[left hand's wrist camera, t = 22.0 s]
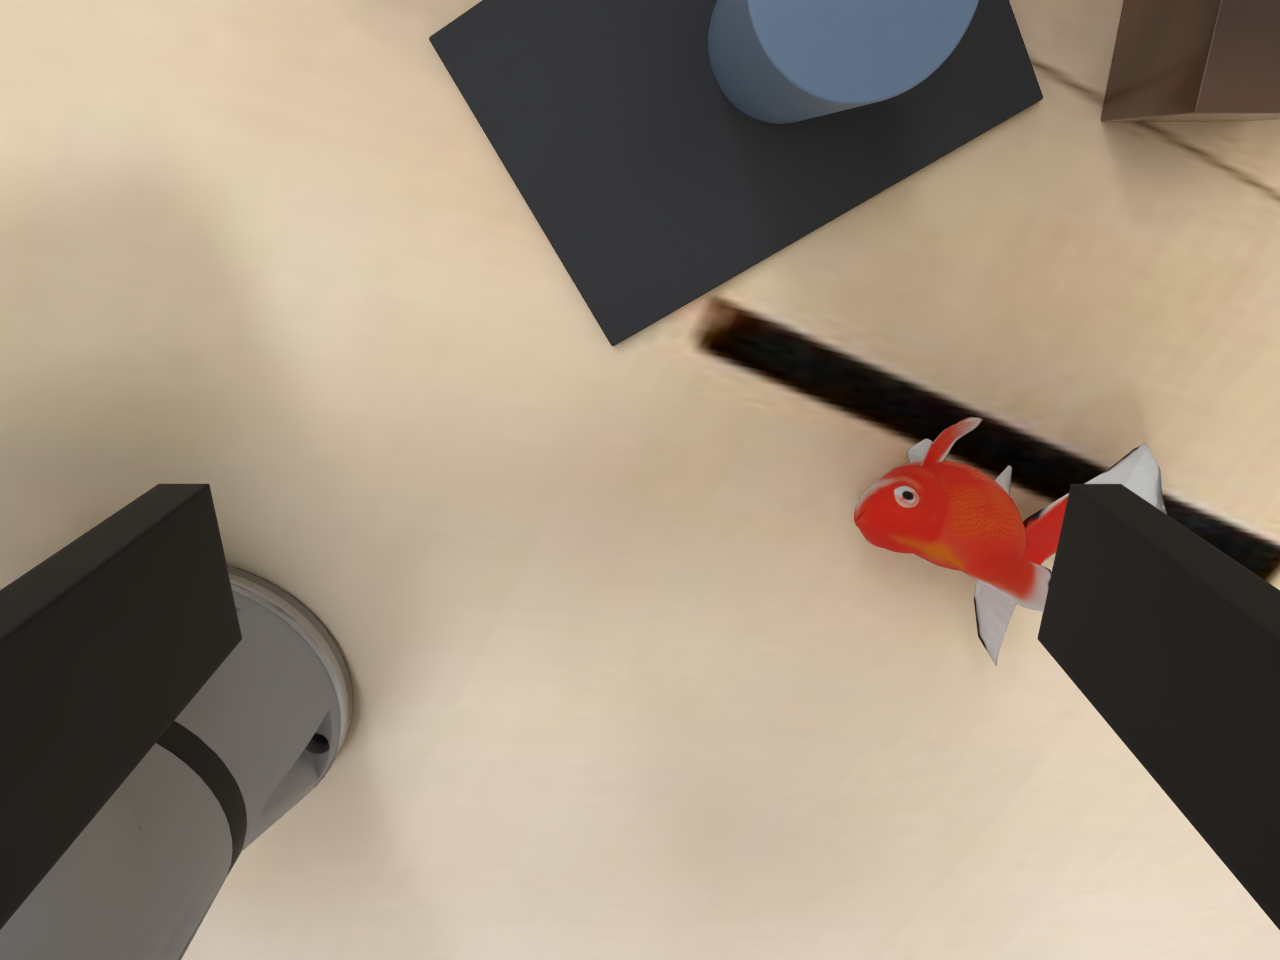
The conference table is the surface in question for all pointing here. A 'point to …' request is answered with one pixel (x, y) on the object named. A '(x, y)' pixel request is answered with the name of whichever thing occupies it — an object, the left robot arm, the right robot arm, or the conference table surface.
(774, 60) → the slate blue cylinder
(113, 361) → the conference table surface
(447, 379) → the conference table surface
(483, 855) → the conference table surface
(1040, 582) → the fish
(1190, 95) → the brown rectangular block
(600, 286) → the mat
